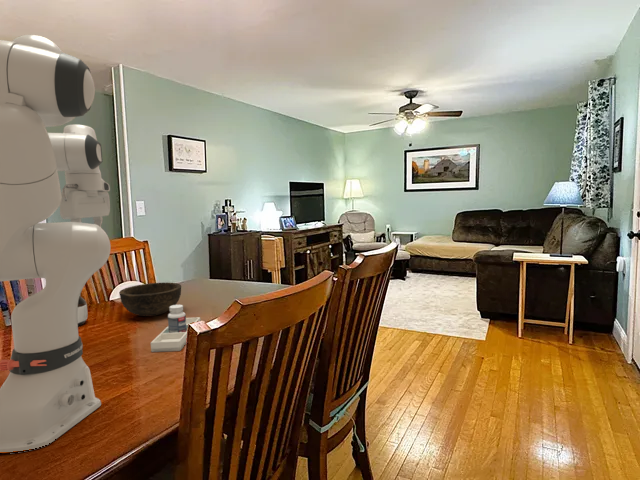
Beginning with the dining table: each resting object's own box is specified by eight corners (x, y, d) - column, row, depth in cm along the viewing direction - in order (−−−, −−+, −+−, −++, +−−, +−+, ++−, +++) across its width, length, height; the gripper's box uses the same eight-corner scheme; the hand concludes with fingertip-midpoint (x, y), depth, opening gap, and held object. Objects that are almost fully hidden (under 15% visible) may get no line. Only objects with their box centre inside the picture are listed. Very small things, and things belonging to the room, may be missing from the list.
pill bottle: (180, 337, 124) (179, 308, 123) (165, 336, 125) (163, 308, 124) (189, 331, 129) (188, 304, 128) (175, 330, 130) (173, 303, 129)
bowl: (184, 318, 148) (182, 291, 147) (118, 326, 140) (116, 298, 139) (181, 304, 168) (180, 280, 167) (123, 310, 160) (121, 286, 159)
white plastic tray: (180, 350, 116) (179, 341, 115) (151, 352, 115) (150, 342, 115) (200, 325, 139) (200, 317, 139) (176, 326, 139) (176, 318, 138)
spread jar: (89, 320, 149) (87, 289, 148) (84, 329, 138) (81, 296, 137) (51, 324, 145) (48, 292, 143) (43, 334, 134) (39, 300, 133)
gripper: (75, 183, 104) (80, 236, 106) (112, 185, 124) (116, 230, 126) (50, 183, 104) (55, 237, 105) (91, 186, 124) (95, 231, 126)
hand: (88, 233), depth 116 cm, fingers open, 8 cm apart
